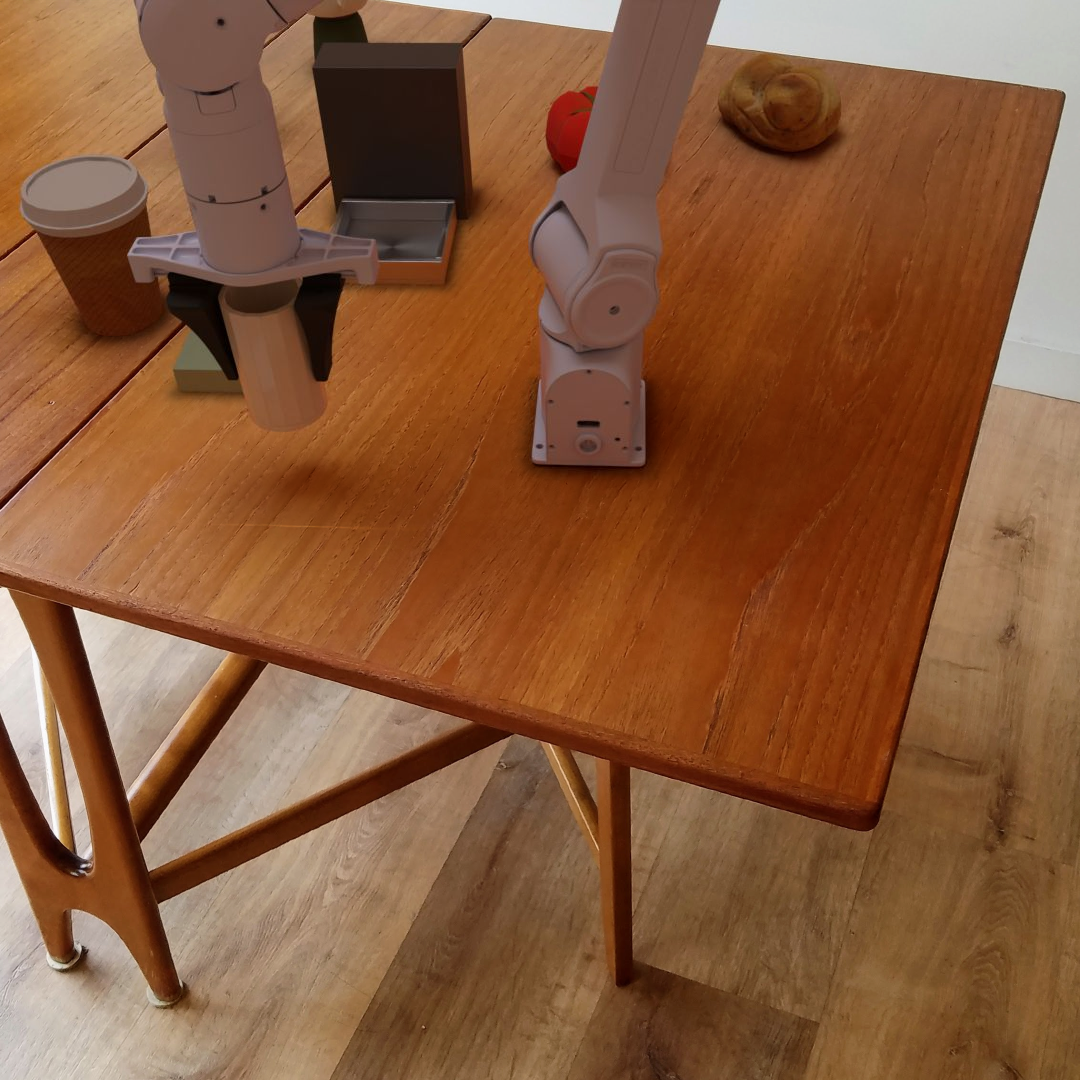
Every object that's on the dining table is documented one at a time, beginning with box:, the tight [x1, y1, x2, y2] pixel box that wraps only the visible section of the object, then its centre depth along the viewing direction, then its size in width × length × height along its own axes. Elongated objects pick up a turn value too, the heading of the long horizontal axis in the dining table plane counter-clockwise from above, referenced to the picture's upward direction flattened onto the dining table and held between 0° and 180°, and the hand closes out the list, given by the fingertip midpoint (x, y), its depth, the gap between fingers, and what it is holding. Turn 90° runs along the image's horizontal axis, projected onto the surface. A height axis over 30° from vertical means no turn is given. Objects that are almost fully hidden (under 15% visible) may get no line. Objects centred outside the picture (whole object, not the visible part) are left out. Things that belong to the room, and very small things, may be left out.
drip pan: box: [330, 198, 458, 286], centre depth 100 cm, size 10×10×2 cm
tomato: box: [544, 85, 599, 173], centre depth 109 cm, size 10×11×6 cm
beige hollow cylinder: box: [218, 278, 329, 433], centre depth 73 cm, size 5×5×9 cm
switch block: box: [172, 329, 244, 394], centre depth 91 cm, size 12×9×4 cm
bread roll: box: [717, 53, 842, 153], centre depth 112 cm, size 13×10×8 cm
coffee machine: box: [311, 42, 474, 221], centre depth 102 cm, size 5×12×14 cm, turn 87°
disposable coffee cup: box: [19, 153, 164, 337], centre depth 91 cm, size 10×10×12 cm
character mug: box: [306, 0, 370, 61], centre depth 123 cm, size 11×7×13 cm, turn 23°
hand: (281, 371), depth 75 cm, fingers closed on beige hollow cylinder, 5 cm apart
